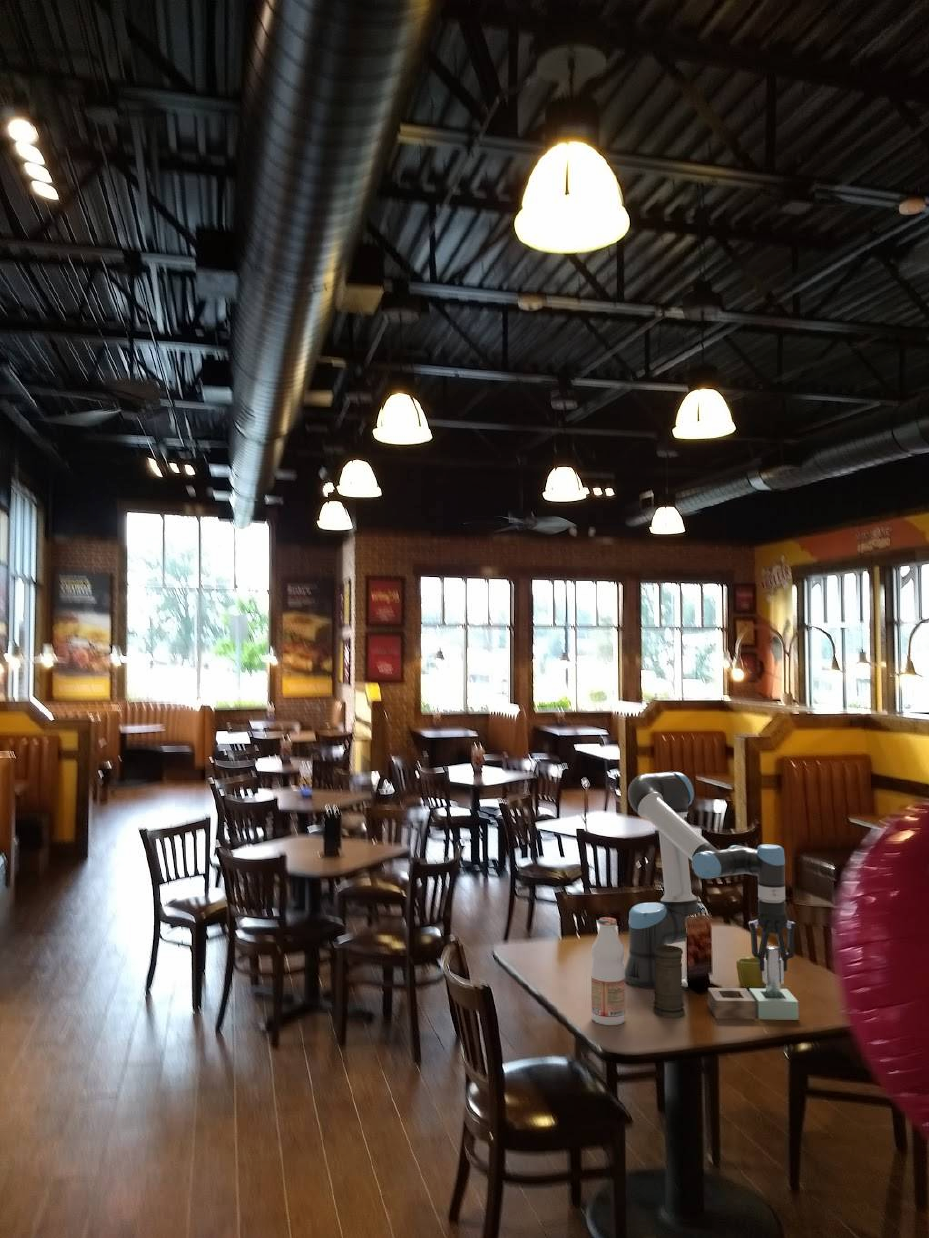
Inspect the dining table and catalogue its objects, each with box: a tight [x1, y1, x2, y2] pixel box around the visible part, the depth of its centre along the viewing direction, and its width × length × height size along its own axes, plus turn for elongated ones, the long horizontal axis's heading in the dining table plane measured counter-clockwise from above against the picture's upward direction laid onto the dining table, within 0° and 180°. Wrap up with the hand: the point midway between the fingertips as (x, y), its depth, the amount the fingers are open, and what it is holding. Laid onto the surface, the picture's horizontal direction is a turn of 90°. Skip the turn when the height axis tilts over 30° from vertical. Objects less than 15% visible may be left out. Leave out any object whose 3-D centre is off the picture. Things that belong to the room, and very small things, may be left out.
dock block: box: [748, 988, 800, 1021], centre depth 281 cm, size 11×11×5 cm
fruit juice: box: [590, 916, 626, 1026], centre depth 276 cm, size 9×9×28 cm
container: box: [652, 944, 685, 1019], centre depth 282 cm, size 9×9×18 cm
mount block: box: [707, 987, 756, 1020], centre depth 282 cm, size 11×11×5 cm
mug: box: [736, 956, 766, 990], centre depth 306 cm, size 12×10×10 cm
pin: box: [765, 945, 781, 999], centre depth 281 cm, size 4×4×17 cm
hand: (773, 981), depth 281 cm, fingers closed on pin, 4 cm apart
